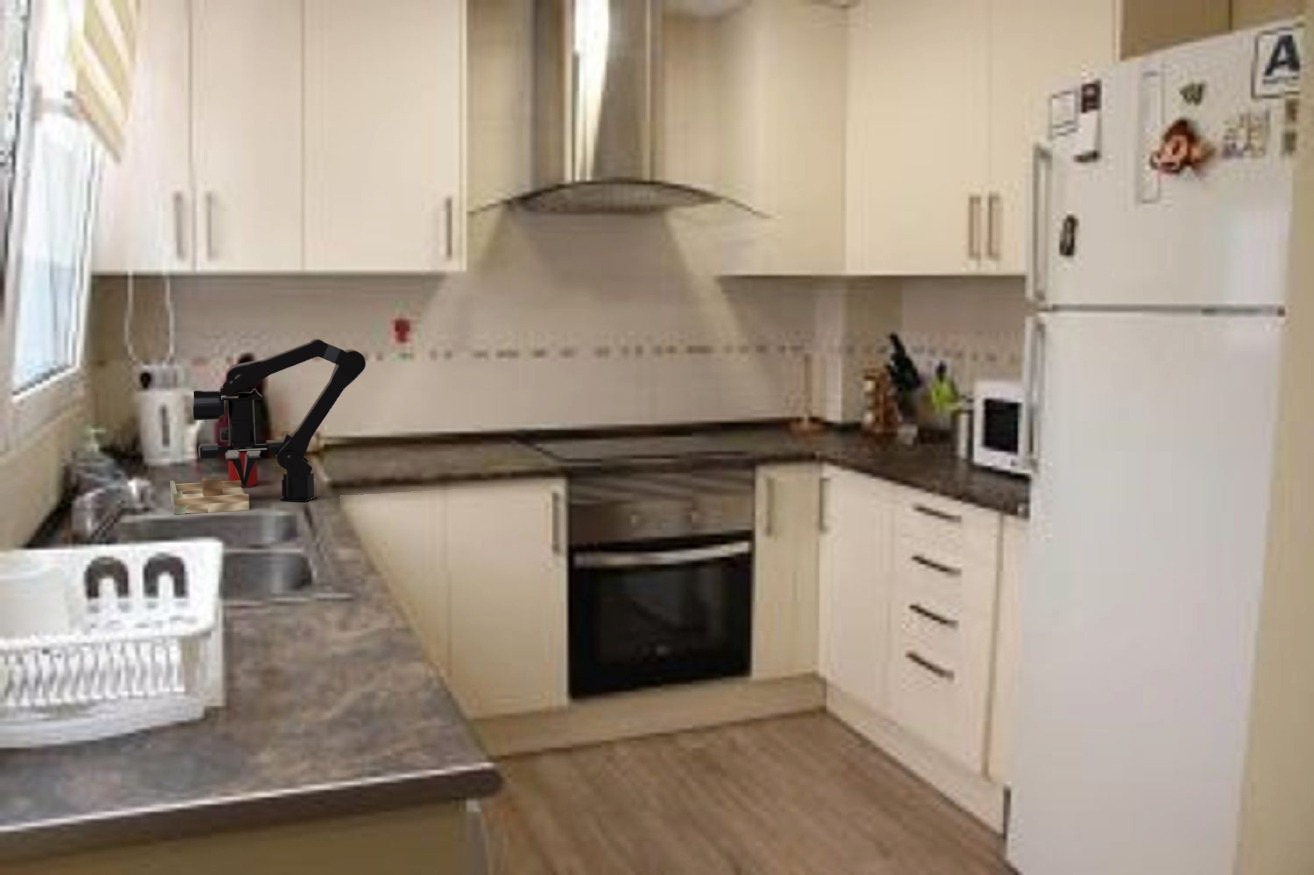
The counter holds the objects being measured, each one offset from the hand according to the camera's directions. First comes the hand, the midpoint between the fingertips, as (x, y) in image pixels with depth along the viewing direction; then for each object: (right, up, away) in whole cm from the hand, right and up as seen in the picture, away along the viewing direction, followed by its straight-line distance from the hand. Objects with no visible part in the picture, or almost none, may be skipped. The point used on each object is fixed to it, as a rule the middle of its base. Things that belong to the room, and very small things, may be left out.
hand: (244, 485), depth 261 cm
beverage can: (-8, -1, +21) cm, 22 cm away
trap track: (-7, -4, -3) cm, 9 cm away
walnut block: (-6, -2, -3) cm, 7 cm away
